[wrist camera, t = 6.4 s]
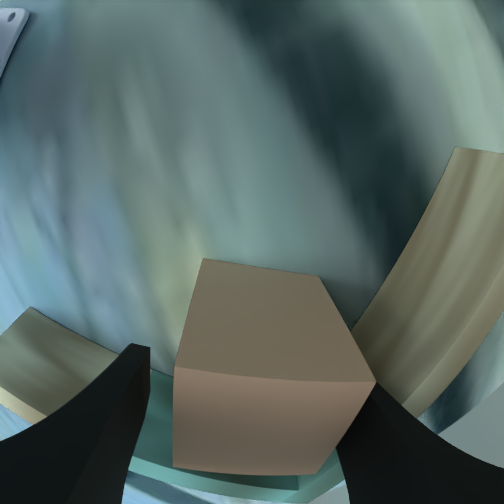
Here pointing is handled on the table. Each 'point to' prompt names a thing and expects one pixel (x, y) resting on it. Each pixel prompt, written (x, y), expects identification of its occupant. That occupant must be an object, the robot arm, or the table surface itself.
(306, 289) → the block
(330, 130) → the table surface
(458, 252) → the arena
